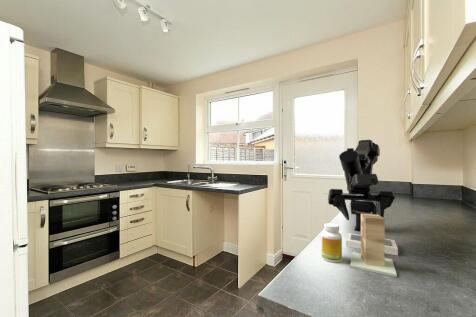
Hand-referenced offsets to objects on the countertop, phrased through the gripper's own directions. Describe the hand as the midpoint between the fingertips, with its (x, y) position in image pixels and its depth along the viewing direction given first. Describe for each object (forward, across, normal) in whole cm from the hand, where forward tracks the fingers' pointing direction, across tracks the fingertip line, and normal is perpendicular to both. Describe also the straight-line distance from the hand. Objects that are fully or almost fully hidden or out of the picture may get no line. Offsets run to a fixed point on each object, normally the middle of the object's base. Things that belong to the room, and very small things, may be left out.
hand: (364, 220), depth 67 cm
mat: (+12, 0, +2) cm, 12 cm away
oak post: (+12, 0, +2) cm, 12 cm away
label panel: (+1, +4, +13) cm, 14 cm away
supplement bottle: (+12, -10, +3) cm, 16 cm away
